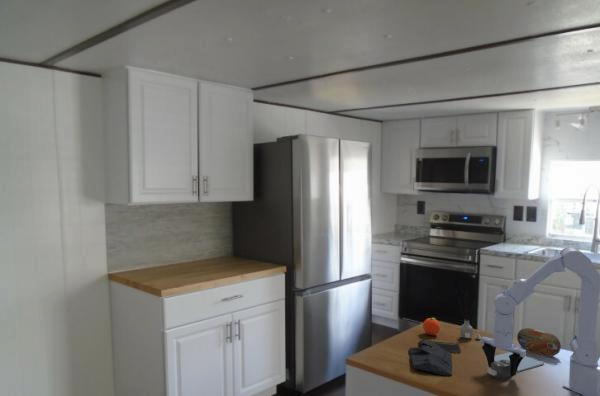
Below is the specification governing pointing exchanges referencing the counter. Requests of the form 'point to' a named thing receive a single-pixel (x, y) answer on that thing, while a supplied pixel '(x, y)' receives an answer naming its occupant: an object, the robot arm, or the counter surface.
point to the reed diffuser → (467, 323)
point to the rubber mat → (524, 364)
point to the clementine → (431, 326)
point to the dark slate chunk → (431, 358)
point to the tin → (539, 342)
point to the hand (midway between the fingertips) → (501, 370)
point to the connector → (500, 369)
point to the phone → (447, 346)
